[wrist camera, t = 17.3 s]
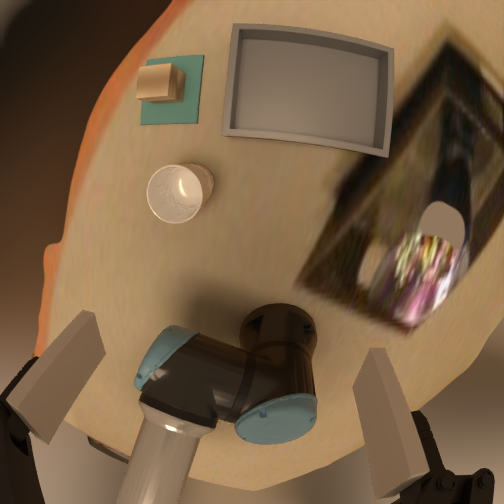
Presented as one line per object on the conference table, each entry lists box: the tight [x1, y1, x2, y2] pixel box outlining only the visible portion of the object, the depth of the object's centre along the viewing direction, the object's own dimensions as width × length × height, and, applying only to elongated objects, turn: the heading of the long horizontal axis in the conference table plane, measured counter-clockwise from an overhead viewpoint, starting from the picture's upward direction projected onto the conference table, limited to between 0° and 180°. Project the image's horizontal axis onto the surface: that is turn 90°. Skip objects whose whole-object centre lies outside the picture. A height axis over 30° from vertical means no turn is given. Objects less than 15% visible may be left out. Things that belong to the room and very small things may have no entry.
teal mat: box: [140, 55, 204, 125], centre depth 37 cm, size 12×10×1 cm
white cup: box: [147, 163, 214, 224], centre depth 39 cm, size 8×8×10 cm
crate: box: [222, 24, 394, 158], centre depth 34 cm, size 18×24×5 cm
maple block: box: [136, 63, 186, 104], centre depth 34 cm, size 5×5×7 cm
